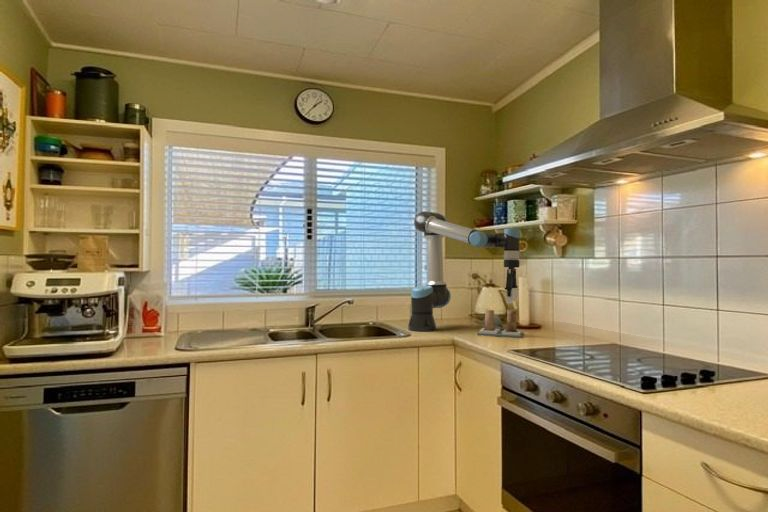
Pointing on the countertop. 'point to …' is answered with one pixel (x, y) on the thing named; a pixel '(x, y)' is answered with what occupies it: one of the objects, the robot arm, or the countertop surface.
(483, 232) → the robot arm
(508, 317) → the wooden pin
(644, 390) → the countertop surface
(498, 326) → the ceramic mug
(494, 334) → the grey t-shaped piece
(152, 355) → the countertop surface
